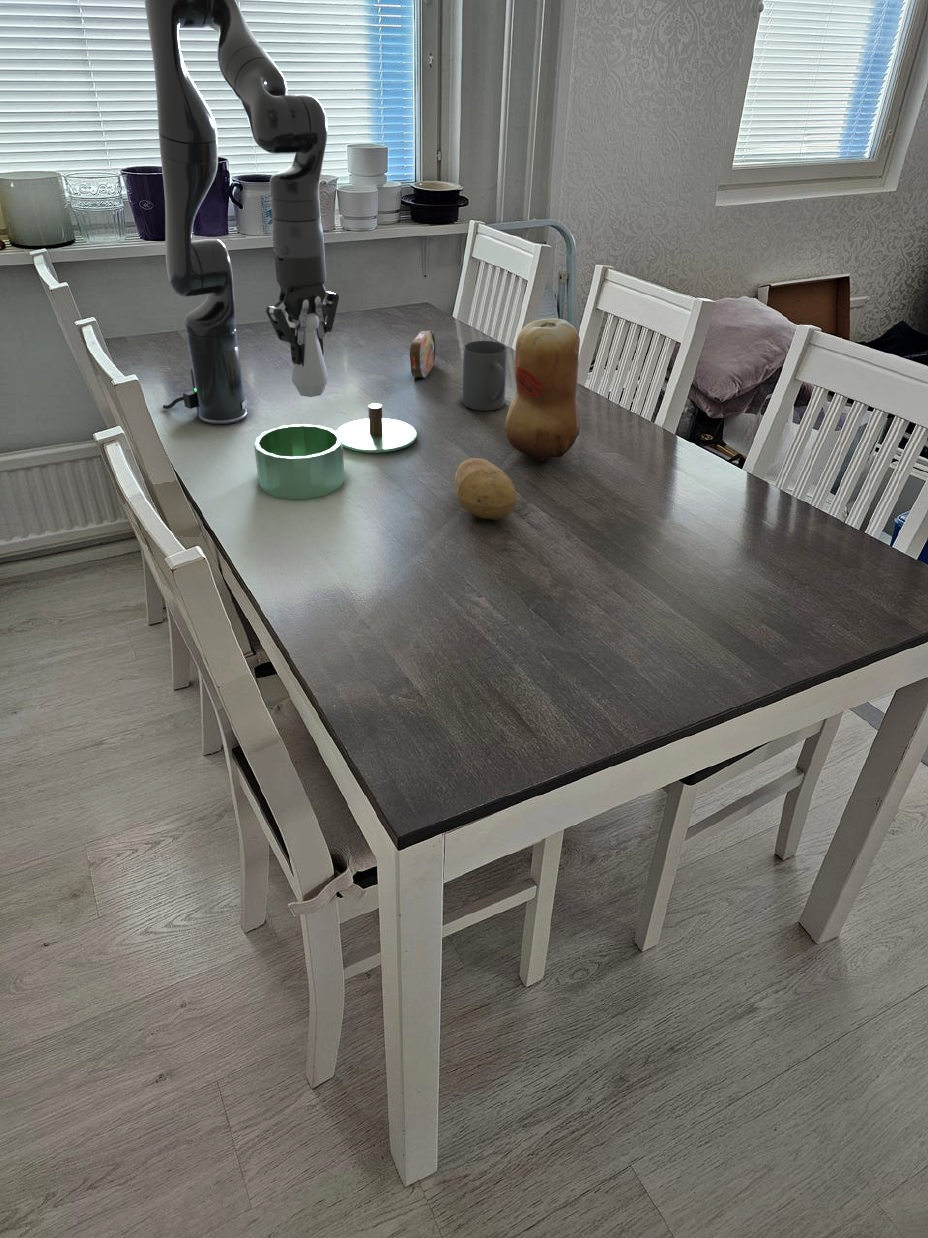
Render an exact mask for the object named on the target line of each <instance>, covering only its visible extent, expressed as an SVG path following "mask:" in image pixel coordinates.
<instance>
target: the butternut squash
mask: <svg viewBox="0 0 928 1238" xmlns="http://www.w3.org/2000/svg"><path fill="white" fill-rule="evenodd" d="M580 344H581V338H580V335H579V332H578V330H577V328H576V327H575V326H574V325H573V324H571V323H570V322H569V321H567V320H565V319H562V318H557V317H555V318H552V317H551V318H541V319H536V320H534V321H530V322H529V323H527V324H526V325H525V326H524V327H522V328H521V330H520V331H519V333H518V335H517V338H516V341H515V349H514V362H513V365H514V366H513V368H514V370H513V371H514V372H513V373H514V378H515V379H514V381H515V385H516V389H515V395H514V396H513V399H512V401H511V403H510V405H509V408H508V410H507V414H506V417H505V425H504V426H505V429H504V431H505V436H506V438H507V440H508V443H509V444H510V445H511V447H512V448H514V449H515V450H516V451H518V452H519V453H521V454H522V455H524V456H526V457H527V458H529V459H531V460H535V461H538V462H542V461H544V460H545V459H550V458H558V459H559V458H562V457H563V456H564V455H565V454H566V453H568V452H569V451H570V449H571V448H572V447H573V445H574V444H575V442H576V440H577V438H578V437H579V435H580V431H581V429H580V428H581V418H580V408H579V405H578V402H577V390H578V376H579V375H578V374H579V357H580Z"/></svg>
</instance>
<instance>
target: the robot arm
mask: <svg viewBox="0 0 928 1238" xmlns="http://www.w3.org/2000/svg"><path fill="white" fill-rule="evenodd" d="M143 1H144V8H145V15H146V21H147V29H148V34H149V43H150V48H151V55H152V62H153V63H152V64H153V71H154V81H155V94H156V109H157V110H156V111H157V130H158V143H159V155H160V161H161V162H160V163H161V171H162V180H163V191H164V210H165V211H164V213H165V217H164V219H165V222H164V223H165V224H164V225H165V228H164V229H165V230H164V231H165V236H164V237H165V240H164V241H165V245H164V247H165V249H164V250H165V266H166V267H165V268H166V272H167V273H166V274H167V278H168V282H169V284H170V286H171V288H172V290H173V292H174V293H176V295H177V296H179V297H181V298H182V297H184V298H187V297H190V298H191V297H198V296H205V295H207V296H206V298H205V300H204V301H203V302H202V303H201V304H200V305H199V306H197V307H196V308H194V309H193V310H191V311H190V312H188V313H187V314H186V316H185V317H184V326H185V327H184V328H185V333H186V338H187V345H188V352H189V358H190V363H191V368H190V369H189V372H190V377H191V384H192V389H191V390H188V391H184V392H182V396H180V397H178V398H175V399H174V400H172V401H171V402H170V404H167V405H166V404H163V405H162V408H163V409H166V410H169V409H172V408H173V407H174V406H175V405H176V404H178V403H179V402H182V401H183V403H184V407H185V408H188V409H190V410H191V409H196V415H198V417H199V420H200V421H201V422H203V423H206V424H210V425H229V424H235V423H238V422H240V421H242V420H245V419H246V418H247V417H248V410H247V406H248V398H246V397H245V390H244V389H245V388H244V382H243V381H244V380H243V372H242V366H241V358H240V357H241V356H240V349H239V343H238V335H237V329H236V328H237V326H236V303H235V293H234V292H235V291H234V276H233V267H232V262H231V257H230V254H229V251H228V249H227V247H226V245H225V244H224V243H223V242H222V241H221V240H220V239H217V238H204V239H196V240H195V239H194V240H192V238H193V237H192V235H193V228H194V224H195V220H196V216H197V213H198V211H199V210H200V207H201V205H202V203H203V202H204V200H205V198H206V196H207V194H208V192H209V191H210V188H211V187H212V184H213V182H214V181H215V178H216V175H217V171H218V167H219V166H218V165H219V153H218V152H219V150H218V149H219V148H218V130H217V129H218V128H217V124H216V121H215V118H214V116H213V114H212V111H211V109H210V108H209V106H208V104H207V103H206V101H205V99H204V98H203V95H202V94H201V93H200V91H199V90H198V88H197V86H196V84H195V83H194V81H193V79H192V78H191V75H190V73H189V72H188V69H187V67H186V64H185V63H184V58H183V54H182V52H181V46H180V45H181V44H180V40H179V39H180V37H179V29H206V28H210V29H212V30H213V31H215V32H216V33H217V34H218V35H219V36H218V40H217V47H216V60H217V65H218V69H219V71H220V74H221V76H222V77H223V79H224V81H225V83H226V84H227V85H228V87H229V88H230V89H231V91H232V92H233V93H234V95H235V96H236V97H237V99H238V100H239V101H240V103H241V105H242V108H243V110H244V113H245V116H246V118H247V122H248V125H249V128H250V132H251V135H252V138H253V140H254V142H255V143H256V145H257V146H258V147H259V148H261V149H262V150H263V151H265V152H266V153H268V154H272V155H273V154H274V155H282V154H294V157H293V160H292V163H291V164H290V166H289V167H288V168H286V169H284V170H281V171H279V172H277V173H274V174H273V175H272V176H271V177H270V180H269V193H270V205H271V215H272V245H273V256H274V265H275V276H276V281H277V283H278V286H279V289H280V290H279V291H280V292H279V297H278V302H276V303H275V304H274V305H273V306H271V305H268V306H267V307H266V308H265V312H266V315H267V317H268V319H269V321H270V323H271V325H272V328H273V329H274V331H275V333H276V335H277V338H278V340H279V341H281V342H286V343H289V346H290V354H291V355H290V356H291V357H290V358H291V362H292V364H293V365H295V364H298V365H300V364H301V363H302V366H304V354H305V344H303V342H304V329H306V327H307V325H306V322H307V314H310V313H315V314H316V315H317V316H318V319H319V327H318V328H316V330H317V335H318V339H319V343H320V347H321V351H322V355H323V356H324V353H325V352H324V338H325V334H326V333H331V332H332V330H333V326H334V322H335V317H336V314H337V309H338V304H339V301H340V296H339V294H338V293H334V292H331V291H327V290H326V287H325V283H326V282H327V270H326V269H327V268H326V267H327V266H326V253H325V238H324V230H323V224H322V218H321V203H320V182H321V176H322V169H323V163H324V157H325V153H326V147H327V143H328V133H329V132H328V131H329V130H328V129H329V127H328V126H329V125H328V118H327V116H326V112H325V110H324V107H323V105H322V104H321V102H320V101H319V100H318V99H317V98H316V97H315V96H312V95H310V94H288V93H287V91H288V87H287V82H286V80H285V79H286V78H285V77H284V75H283V73H282V72H281V70H280V69H279V67H278V66H277V65H276V64H275V62H274V61H273V60H272V58H271V57H270V56H269V55H268V53H267V52H266V51H265V49H264V48H263V47H262V45H261V44H260V43H259V41H258V40H257V39H256V37H255V35H254V34H253V32H252V30H251V28H250V26H249V25H248V22H247V20H246V18H245V17H244V15H243V12H242V10H241V7H240V6H239V4H238V2H237V0H143ZM292 319H294V320H299V322H298V323H294V322H292Z"/></svg>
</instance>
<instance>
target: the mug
mask: <svg viewBox="0 0 928 1238" xmlns="http://www.w3.org/2000/svg"><path fill="white" fill-rule="evenodd" d="M507 363H508V348H507V346H506V345H505V344H503V343H501V342H498V341H491V340H474V341H470V342H467V343H466V344H464V345H463V352H462V379H461V380H462V385H461V386H462V390H461V391H462V397H461V399H462V403H463V404H462V405H464V407H466V408H467V409H471V410H473V411H481V412H482V411H483V412H485V411H494V410H498V409H500V408H502V407H503V406H504V405H505V401H506V385H507V365H508V364H507Z"/></svg>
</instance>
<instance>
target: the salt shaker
mask: <svg viewBox="0 0 928 1238" xmlns="http://www.w3.org/2000/svg"><path fill="white" fill-rule="evenodd" d="M292 322H294V323H298V322H299V320H294V319H292ZM306 325H307V327H306V329H304V342H303V344H305V354H304V366H302V363H301V364H300V365H298V364H295V365H294V364H293V366H292V375H291V381H292V384H293V385H294V387H295V388H296V390H297V392H298V394H299V395H300V396H301V397H306V398H313V397H321V396H322V394H323V393H324V391H325V389H326V386H327V383H328V379H329V376H328V371H327V368H326V364H325V359H324V354H323V355H322V351H321V347H320V343H319V339H318V335H317V330H316V328H318V327H319V319H318V316H317V315H316V314H315V313H310V314H307V322H306Z"/></svg>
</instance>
